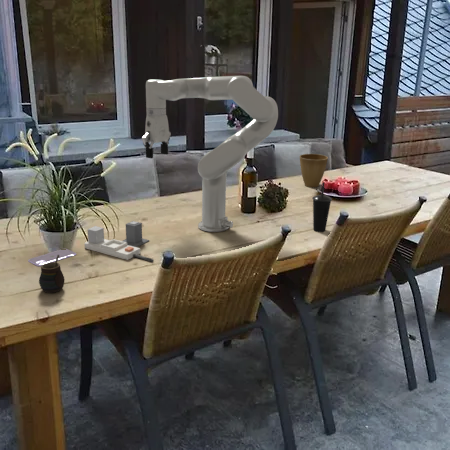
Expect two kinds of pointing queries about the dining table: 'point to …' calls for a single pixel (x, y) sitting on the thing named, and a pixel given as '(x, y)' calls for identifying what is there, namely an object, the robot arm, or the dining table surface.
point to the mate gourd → (51, 277)
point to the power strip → (111, 245)
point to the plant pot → (312, 168)
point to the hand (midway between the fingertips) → (157, 155)
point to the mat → (137, 243)
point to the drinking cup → (320, 211)
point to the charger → (133, 232)
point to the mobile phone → (51, 257)
